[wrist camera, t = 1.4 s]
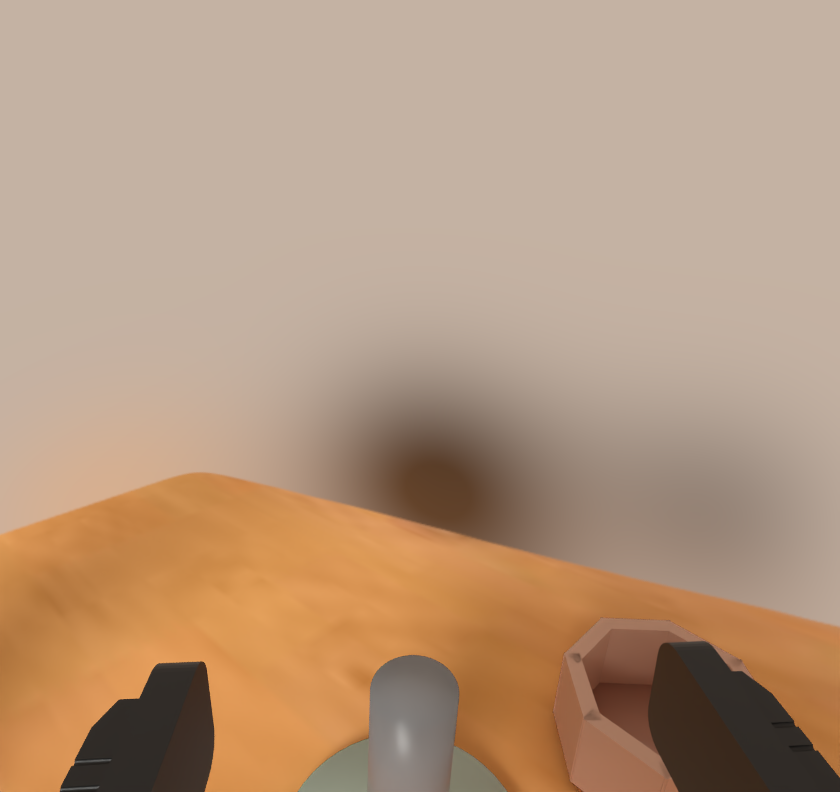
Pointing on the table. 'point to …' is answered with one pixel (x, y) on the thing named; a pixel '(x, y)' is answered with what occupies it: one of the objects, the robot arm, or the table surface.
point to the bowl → (616, 705)
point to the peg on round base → (407, 738)
